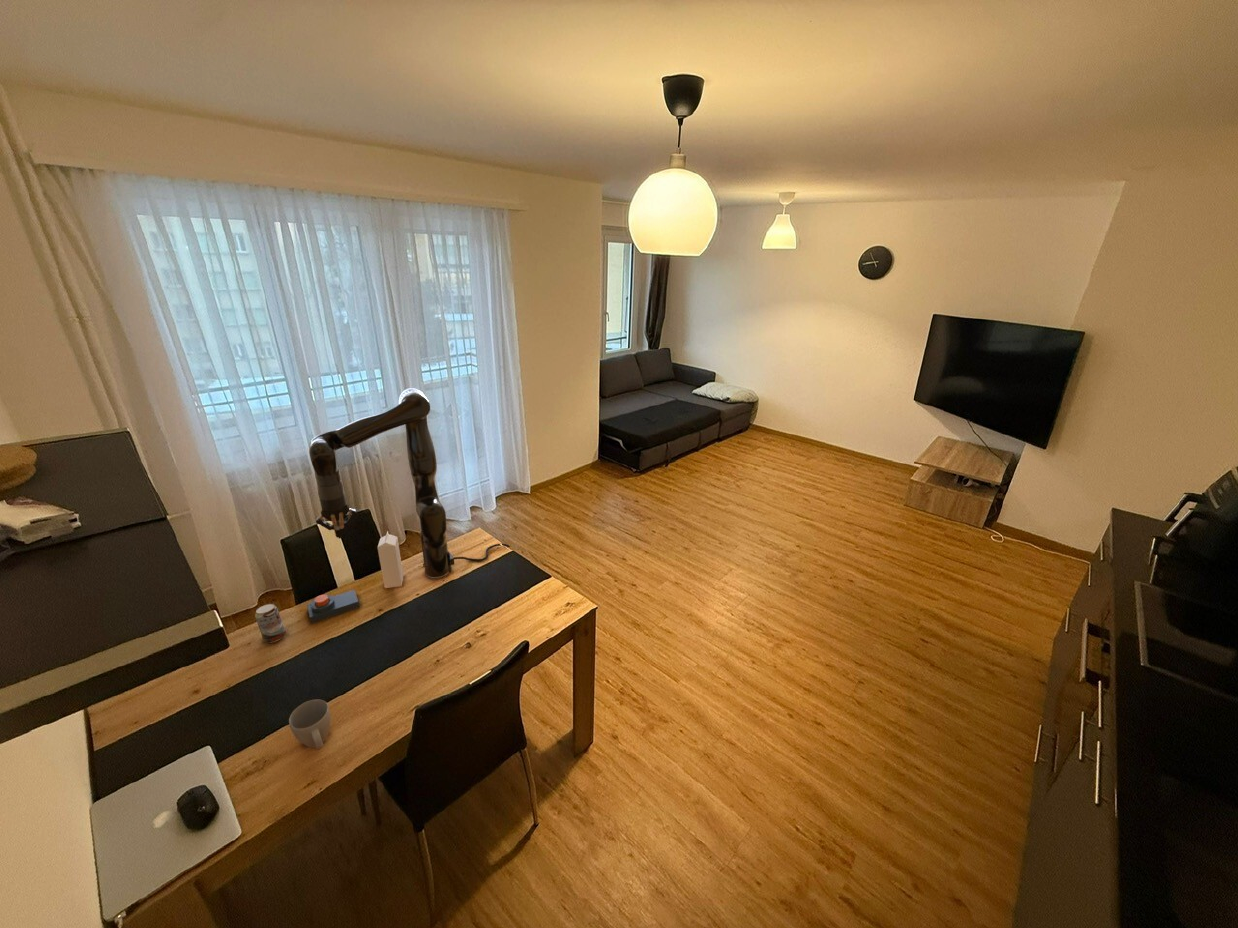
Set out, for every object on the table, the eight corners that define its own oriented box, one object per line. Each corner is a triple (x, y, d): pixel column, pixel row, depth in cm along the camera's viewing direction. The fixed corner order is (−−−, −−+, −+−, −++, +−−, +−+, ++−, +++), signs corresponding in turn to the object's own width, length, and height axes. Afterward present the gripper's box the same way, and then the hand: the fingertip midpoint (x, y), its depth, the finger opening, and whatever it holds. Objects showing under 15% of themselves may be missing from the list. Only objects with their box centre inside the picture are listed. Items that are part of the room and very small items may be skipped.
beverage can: (269, 648, 154) (260, 619, 149) (258, 638, 157) (248, 609, 152) (290, 636, 159) (282, 608, 154) (279, 626, 162) (270, 599, 157)
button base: (355, 595, 178) (353, 585, 176) (359, 607, 173) (357, 597, 171) (308, 610, 170) (305, 600, 168) (311, 623, 164) (308, 613, 162)
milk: (384, 588, 183) (375, 540, 173) (387, 578, 188) (378, 531, 178) (401, 586, 184) (393, 538, 175) (404, 576, 189) (396, 529, 180)
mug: (293, 735, 128) (285, 711, 124) (330, 716, 134) (323, 692, 130) (303, 770, 121) (295, 745, 117) (342, 748, 126) (335, 724, 122)
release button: (327, 597, 170) (326, 593, 170) (329, 604, 168) (328, 599, 167) (314, 601, 168) (313, 597, 167) (316, 608, 165) (315, 603, 164)
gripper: (310, 503, 155) (321, 548, 162) (355, 493, 162) (363, 536, 170) (307, 493, 160) (317, 537, 168) (351, 484, 168) (359, 526, 175)
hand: (340, 537), depth 169 cm, fingers closed
